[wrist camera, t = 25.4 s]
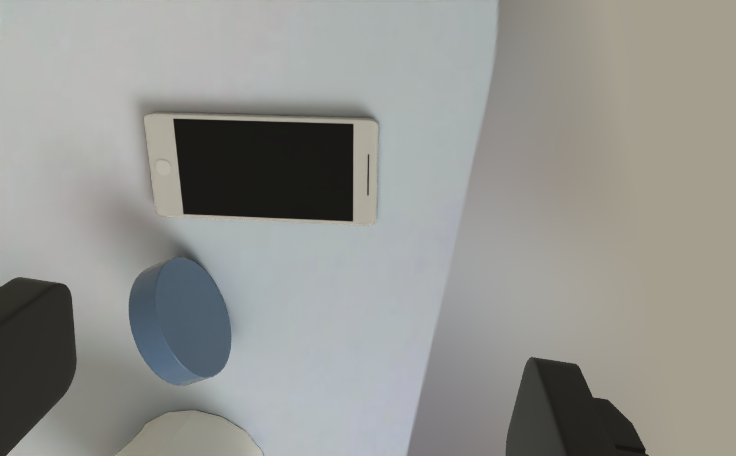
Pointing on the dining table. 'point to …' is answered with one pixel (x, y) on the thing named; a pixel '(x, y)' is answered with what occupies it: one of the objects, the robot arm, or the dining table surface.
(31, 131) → the dining table surface
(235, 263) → the dining table surface
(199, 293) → the disc
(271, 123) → the smartphone
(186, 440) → the vase
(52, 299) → the robot arm
